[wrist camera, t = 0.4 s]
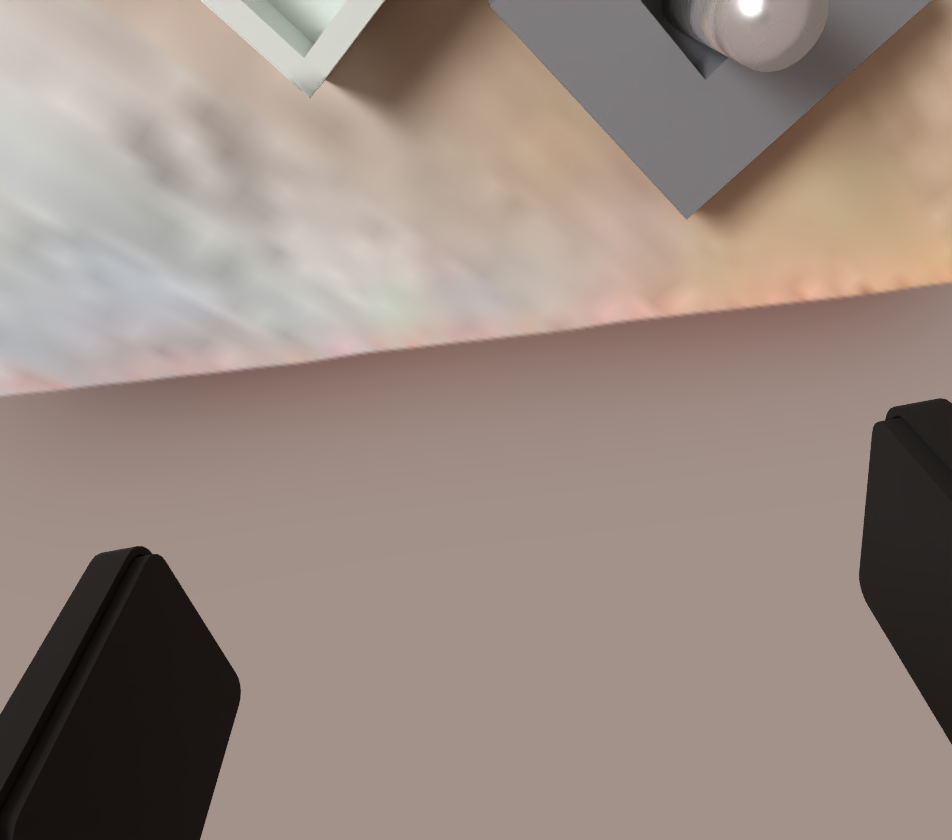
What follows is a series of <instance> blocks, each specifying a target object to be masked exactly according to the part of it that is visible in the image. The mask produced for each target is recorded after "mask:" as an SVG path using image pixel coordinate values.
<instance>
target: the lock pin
mask: <svg viewBox="0 0 952 840" xmlns="http://www.w3.org/2000/svg"><path fill="white" fill-rule="evenodd" d="M661 5H662V10H663V13H664V15H665V17H666V19H667V21H668V22H669V23H670V24H671V25H672V26H673V27H674V28H675V29H677V30H678V31H680V32H682V33H684V34H686V35H688V36H690V37H692V38H693V39H695V40H697V41H699V42H701V43H703V44H705V45H707V46H708V47H710V48H712V49H714V50H716V51H718V52H720V53H722V54H724V55H725V56H727V57H729V58H731V59H733V60H735V61H737V62H739V63H741V64H742V65H744V66H746V67H748V68H750V69H753V70H755V71H760V72H773V71H778V70H781V69H784V68H787V67H789V66H791V65H793V64H794V63H796V62H797V61H799V60H800V59H801V58H802V57H804V56H805V55H806V54H807V53H808V52H809V51H810V50H811V48H812V47H813V46H814V44H815V43H816V42H817V40H818V38H819V37H820V35H821V33H822V31H823V28H824V26H825V23H826V19H827V15H828V9H829V0H661Z"/></svg>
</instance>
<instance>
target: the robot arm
mask: <svg viewBox="0 0 952 840" xmlns="http://www.w3.org/2000/svg"><path fill="white" fill-rule="evenodd" d="M859 580H860V586H861V590H862V593H863V595H864V598H865V601H866V603H867V604H868V606H869V608H870V610H871V611H872V613H873V615H874V616H875V618H876V620H877V621H878V623H879V624H880V626H881V628H882V629H883V631H884V633H885V634H886V636H887V638H888V639H889V641H890V643H891V644H892V646H893V647H894V649H895V651H896V653H897V654H898V656H899V658H900V659H901V661H902V663H903V664H904V666H905V668H906V669H907V671H908V673H909V674H910V676H911V677H912V679H913V681H914V683H915V684H916V686H917V687H918V689H919V691H920V692H921V694H922V696H923V697H924V699H925V701H926V702H927V704H928V706H929V707H930V709H931V711H932V712H933V714H934V716H935V717H936V719H937V721H938V722H939V724H940V725H941V727H942V728H943V731H944V732H945V734H946V736H947V737H948V739H949V741H950V742H951V744H952V403H951V402H949V401H948V400H946V399H941V398H940V399H934V400H928V401H923V402H918V403H912V404H907V405H902V406H896V407H893V408H891V409H890V410H889V411H888V413H887V415H886V419H885V421H880V422H877V423H876V424H875V425H874V427H873V432H872V441H871V451H870V462H869V473H868V484H867V495H866V505H865V517H864V527H863V538H862V549H861V559H860V570H859ZM240 694H241V690H240V683H239V679H238V676H237V674H236V673H235V671H234V670H233V668H232V666H231V665H230V663H229V662H228V660H227V658H226V657H225V655H224V653H223V652H222V650H221V649H220V647H219V646H218V644H217V642H216V641H215V639H214V638H213V636H212V635H211V633H210V631H209V630H208V628H207V627H206V625H205V623H204V622H203V620H202V619H201V617H200V615H199V614H198V612H197V611H196V609H195V607H194V606H193V604H192V603H191V601H190V600H189V598H188V596H187V595H186V593H185V591H184V590H183V588H182V587H181V585H180V583H179V582H178V580H177V579H176V577H175V576H174V574H173V572H172V571H171V569H170V568H169V566H168V564H167V563H166V561H165V560H164V559H163V557H162V556H160V555H158V554H152V553H151V552H150V551H149V550H148V549H147V548H145V547H143V546H136V547H131V548H126V549H120V550H115V551H109V552H104V553H100V554H98V555H97V556H95V557H94V558H93V559H92V561H91V562H90V564H89V565H88V567H87V569H86V570H85V572H84V574H83V575H82V577H81V579H80V580H79V582H78V584H77V586H76V587H75V589H74V591H73V592H72V594H71V596H70V597H69V599H68V601H67V602H66V604H65V606H64V608H63V609H62V611H61V613H60V614H59V616H58V618H57V620H56V621H55V623H54V624H53V626H52V628H51V630H50V631H49V633H48V635H47V636H46V638H45V640H44V641H43V643H42V645H41V647H40V648H39V650H38V652H37V653H36V655H35V657H34V658H33V660H32V662H31V664H30V665H29V667H28V668H27V670H26V672H25V673H24V675H23V677H22V679H21V680H20V682H19V684H18V685H17V687H16V689H15V691H14V692H13V694H12V695H11V697H10V699H9V701H8V702H7V704H6V706H5V707H4V709H3V711H2V712H1V714H0V840H200V838H201V834H202V831H203V827H204V824H205V820H206V817H207V813H208V810H209V806H210V803H211V799H212V796H213V792H214V789H215V786H216V782H217V779H218V775H219V772H220V768H221V765H222V761H223V758H224V755H225V751H226V748H227V744H228V741H229V737H230V734H231V730H232V727H233V724H234V720H235V717H236V713H237V710H238V706H239V702H240Z"/></svg>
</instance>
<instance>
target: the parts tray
mask: <svg viewBox="0 0 952 840" xmlns="http://www.w3.org/2000/svg"><path fill="white" fill-rule="evenodd" d="M201 1H202V2H203V3H204V4H205V5H206V6H207V7H209V8H210V9H211V10H212V11H213V12H214V13H215V14H216V15H218V16H219V17H220V18H221V19H222V20H223V21H224V22H225V23H226V24H228V25H229V26H230V27H231V28H232V29H233V30H234V31H235V32H236V33H238V34H239V35H240V36H241V37H242V38H243V39H244V40H245V41H247V42H248V43H249V44H250V45H251V46H252V47H253V48H254V49H255V50H257V51H258V52H259V53H260V54H261V55H262V56H263V57H264V58H266V59H267V60H268V61H269V62H270V63H271V64H272V65H273V66H274V67H276V68H277V69H278V70H279V71H280V72H281V73H282V74H283V75H285V76H286V77H287V78H288V79H289V80H290V81H291V82H292V83H293V84H295V85H296V86H297V87H298V88H299V89H300V90H301V91H302V92H304V93H305V94H306V95H307V96H308V97H309V98H311V96H312V95H313V94H314V93H315V92H316V90H317V89H318V88H319V87H320V86H321V84H322V83H323V82H324V81H325V80H326V78H327V77H328V76H329V74H330V73H331V72H332V70H333V69H334V68H335V66H336V65H337V64H338V62H339V61H340V60H341V59H342V57H343V56H344V55H345V53H346V52H347V51H348V49H349V48H350V47H351V45H352V44H353V43H354V41H355V40H356V39H357V37H358V36H359V35H360V33H361V32H362V31H363V30H364V28H365V27H366V26H367V24H368V23H369V22H370V20H371V19H372V18H373V16H374V15H375V14H376V12H377V11H378V10H379V8H380V7H381V6H382V5H383V3H384V2H385V1H386V0H201Z"/></svg>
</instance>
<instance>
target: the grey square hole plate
mask: <svg viewBox="0 0 952 840" xmlns="http://www.w3.org/2000/svg"><path fill="white" fill-rule="evenodd" d="M930 1H931V0H829V9H828V15H827V19H826V23H825V26H824V28H823V31H822V33H821V35H820V37H819V38H818V40H817V42H816V43H815V44H814V46H813V47H812V48H811V50H810V51H809V52H808V53H807V54H806V55H805V56H804V57H802V58H801V59H800V60H799V61H797V62H796V63H794V64H793V65H791V66H789V67H787V68H784V69H781V70H778V71H773V72H760V71H755V70H753V69H750V68H748V67H746V66H744V65H742V64H741V63H739V62H737V61H735V60H733V59H731V58H729V57H727V56H725V55H724V54H722V53H720V52H718V51H716V50H714V49H712V48H710V47H708V46H707V45H705V44H703V43H701V42H699V41H697V40H695V39H693V38H692V37H690V36H688V35H686V34H684V33H682V32H680V31H678V30H677V29H675V28H674V27H673V26H672V25H671V24H670V23H669V22H668V21H667V19H666V17H665V15H664V13H663V10H662V5H661V0H488V2H489V5H490V7H491V8H492V9H493V10H494V11H495V12H496V13H497V15H498V16H499V17H500V18H501V19H502V20H503V21H504V22H505V23H506V24H507V25H508V26H509V28H510V29H511V30H512V31H513V32H514V33H515V34H516V35H517V36H518V37H519V38H520V39H521V41H522V42H523V43H524V44H525V45H526V46H527V47H528V48H529V49H530V50H531V51H532V52H533V54H534V55H535V56H536V57H537V58H538V59H539V60H540V61H541V62H542V63H543V64H544V65H545V67H546V68H547V69H548V70H549V71H550V72H551V73H552V74H553V75H554V76H555V77H556V78H557V80H558V81H559V82H560V83H561V84H562V85H563V86H564V87H565V88H566V89H567V90H568V91H569V93H570V94H571V95H572V96H573V97H574V98H575V99H576V100H577V101H578V102H579V103H580V104H581V106H582V107H583V108H584V109H585V110H586V111H587V112H588V113H589V114H590V115H591V116H592V118H593V119H594V120H595V121H596V122H597V123H598V124H599V125H600V126H601V127H602V128H603V129H604V131H605V132H606V133H607V134H608V135H609V136H610V137H611V138H612V139H613V140H614V141H615V142H616V144H617V145H618V146H619V147H620V148H621V149H622V150H623V151H624V152H625V153H626V154H627V155H628V157H629V158H630V159H631V160H632V161H633V162H634V163H635V164H636V165H637V166H638V167H639V168H640V170H641V171H642V172H643V173H644V174H645V175H646V176H647V177H648V178H649V179H650V180H651V181H652V183H653V184H654V185H655V186H656V187H657V188H658V189H659V190H660V191H661V192H662V193H663V194H664V196H665V197H666V198H667V199H668V200H669V201H670V202H671V203H672V204H673V205H674V206H675V207H676V209H677V210H678V211H679V212H680V213H681V214H682V215H683V216H684V217H685V218H686V219H688V218H689V217H690V216H691V215H692V214H693V213H695V212H696V211H697V210H698V209H699V208H700V207H701V206H702V205H703V204H705V203H706V202H707V201H708V200H709V199H710V198H711V197H712V196H713V195H715V194H716V193H717V192H718V191H719V190H720V189H721V188H722V187H724V186H725V185H726V184H727V183H728V182H729V181H730V180H731V179H732V178H734V177H735V176H736V175H737V174H738V173H739V172H740V171H741V170H743V169H744V168H745V167H746V166H747V165H748V164H749V163H750V162H751V161H753V160H754V159H755V158H756V157H757V156H758V155H759V154H760V153H761V152H763V151H764V150H765V149H766V148H767V147H768V146H769V145H770V144H772V143H773V142H774V141H775V140H776V139H777V138H778V137H779V136H780V135H782V134H783V133H784V132H785V131H786V130H787V129H788V128H789V127H790V126H792V125H793V124H794V123H795V122H796V121H797V120H798V119H799V118H801V117H802V116H803V115H804V114H805V113H806V112H807V111H808V110H809V109H811V108H812V107H813V106H814V105H815V104H816V103H817V102H818V101H820V100H821V99H822V98H823V97H824V96H825V95H826V94H827V93H828V92H830V91H831V90H832V89H833V88H834V87H835V86H836V85H837V84H838V83H840V82H841V81H842V80H843V79H844V78H845V77H846V76H847V75H849V74H850V73H851V72H852V71H853V70H854V69H855V68H856V67H857V66H859V65H860V64H861V63H862V62H863V61H864V60H865V59H866V58H867V57H869V56H870V55H871V54H872V53H873V52H874V51H875V50H876V49H878V48H879V47H880V46H881V45H882V44H883V43H884V42H885V41H886V40H888V39H889V38H890V37H891V36H892V35H893V34H894V33H895V32H897V31H898V30H899V29H900V28H901V27H902V26H903V25H904V24H905V23H907V22H908V21H909V20H910V19H911V18H912V17H913V16H914V15H915V14H917V13H918V12H919V11H920V10H921V9H922V8H923V7H924V6H926V5H927V4H928V3H929V2H930Z"/></svg>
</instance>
